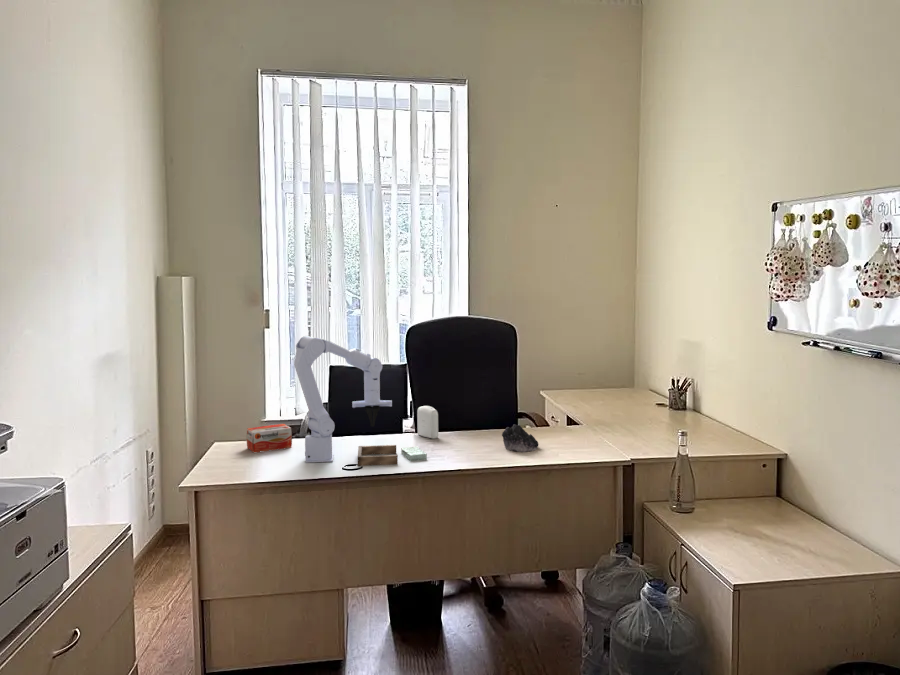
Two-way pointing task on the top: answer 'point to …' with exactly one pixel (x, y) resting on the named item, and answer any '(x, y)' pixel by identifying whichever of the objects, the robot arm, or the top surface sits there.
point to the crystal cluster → (519, 439)
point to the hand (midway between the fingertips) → (372, 425)
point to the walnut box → (377, 459)
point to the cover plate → (414, 453)
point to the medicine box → (269, 438)
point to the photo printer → (427, 422)
